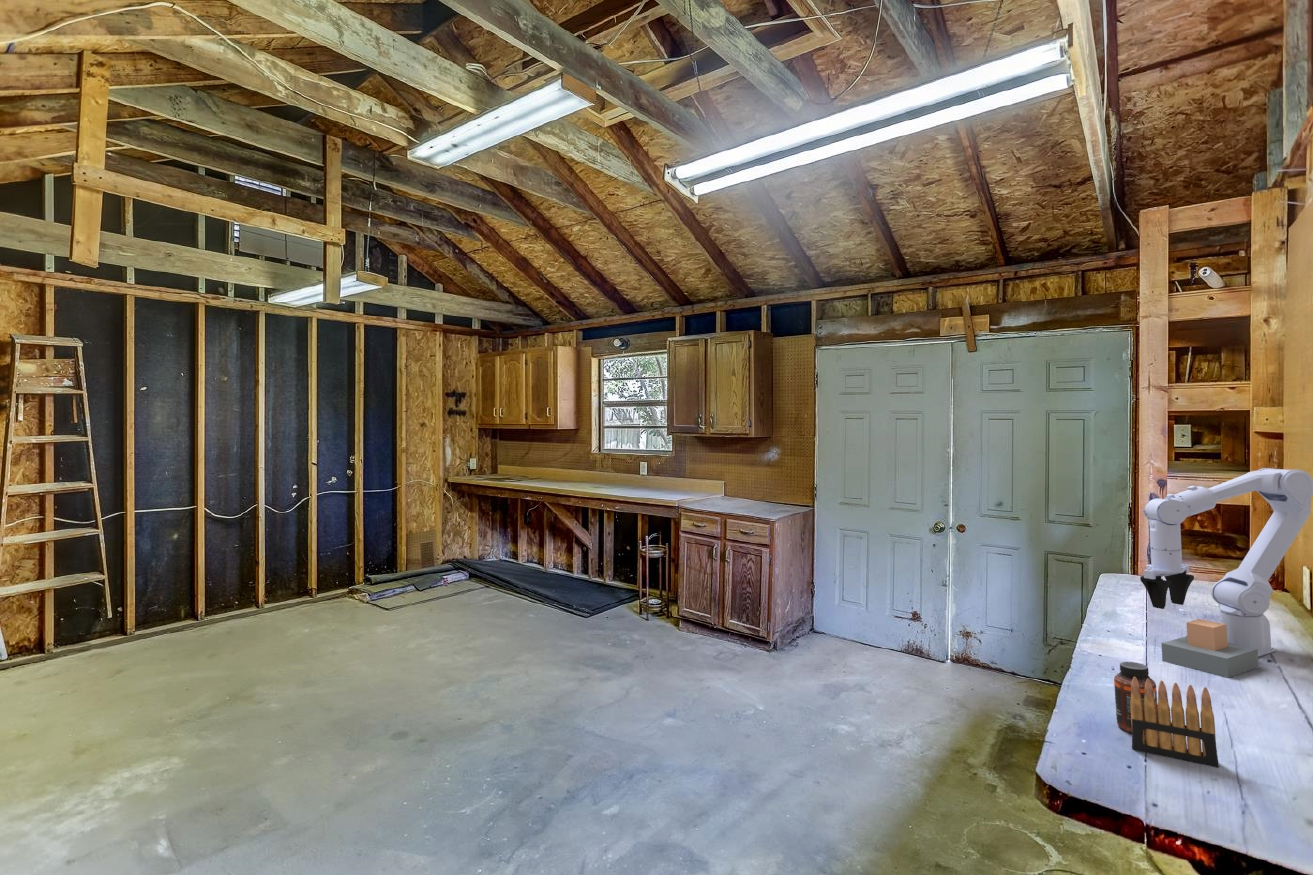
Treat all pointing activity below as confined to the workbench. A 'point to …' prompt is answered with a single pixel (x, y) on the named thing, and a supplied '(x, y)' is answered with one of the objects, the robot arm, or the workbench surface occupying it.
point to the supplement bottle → (1124, 691)
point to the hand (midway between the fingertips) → (1168, 605)
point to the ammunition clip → (1173, 725)
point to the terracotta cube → (1207, 634)
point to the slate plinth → (1211, 657)
